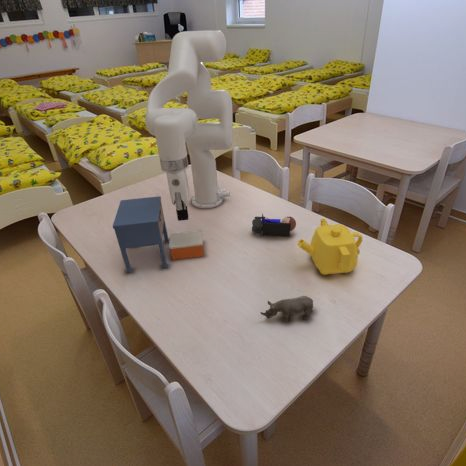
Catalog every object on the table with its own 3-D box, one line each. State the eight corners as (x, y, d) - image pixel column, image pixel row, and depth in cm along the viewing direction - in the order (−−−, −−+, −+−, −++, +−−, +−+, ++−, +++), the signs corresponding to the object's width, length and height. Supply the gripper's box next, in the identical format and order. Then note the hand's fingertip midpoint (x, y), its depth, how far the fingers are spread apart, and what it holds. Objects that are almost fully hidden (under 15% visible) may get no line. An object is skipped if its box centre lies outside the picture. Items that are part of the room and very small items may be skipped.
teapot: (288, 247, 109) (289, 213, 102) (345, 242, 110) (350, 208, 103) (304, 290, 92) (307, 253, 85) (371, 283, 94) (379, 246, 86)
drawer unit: (169, 240, 116) (160, 196, 106) (167, 268, 103) (157, 221, 94) (132, 244, 115) (120, 200, 105) (126, 273, 102) (112, 226, 92)
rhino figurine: (258, 314, 86) (258, 297, 83) (311, 307, 87) (312, 290, 84) (261, 326, 83) (261, 309, 79) (316, 319, 84) (318, 302, 80)
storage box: (203, 242, 114) (201, 230, 111) (204, 256, 107) (202, 243, 104) (172, 246, 113) (170, 233, 110) (171, 260, 106) (169, 247, 103)
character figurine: (252, 228, 120) (295, 231, 118) (250, 239, 114) (295, 241, 111) (252, 209, 116) (296, 210, 114) (250, 218, 110) (296, 220, 108)
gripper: (187, 172, 87) (196, 231, 97) (188, 151, 99) (195, 206, 110) (158, 174, 86) (169, 233, 97) (162, 154, 99) (172, 208, 109)
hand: (183, 218), depth 103 cm, fingers closed
